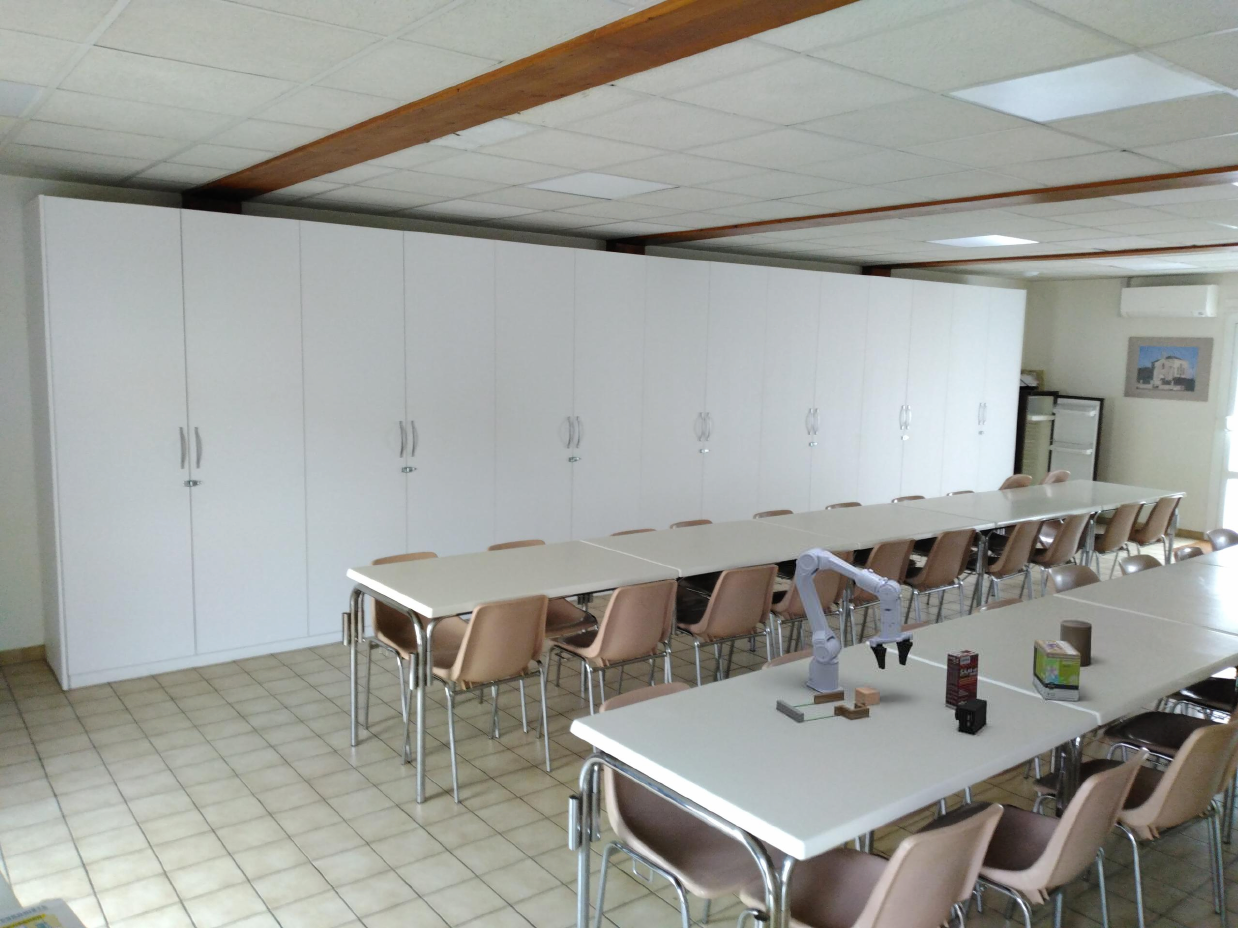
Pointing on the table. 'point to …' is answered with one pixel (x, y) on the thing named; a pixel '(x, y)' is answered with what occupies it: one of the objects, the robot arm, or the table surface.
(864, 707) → the channel
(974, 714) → the digital camera
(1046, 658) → the tea box
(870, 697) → the block
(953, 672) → the supplement box
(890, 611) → the robot arm
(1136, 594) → the table surface
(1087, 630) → the pillar candle
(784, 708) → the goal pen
